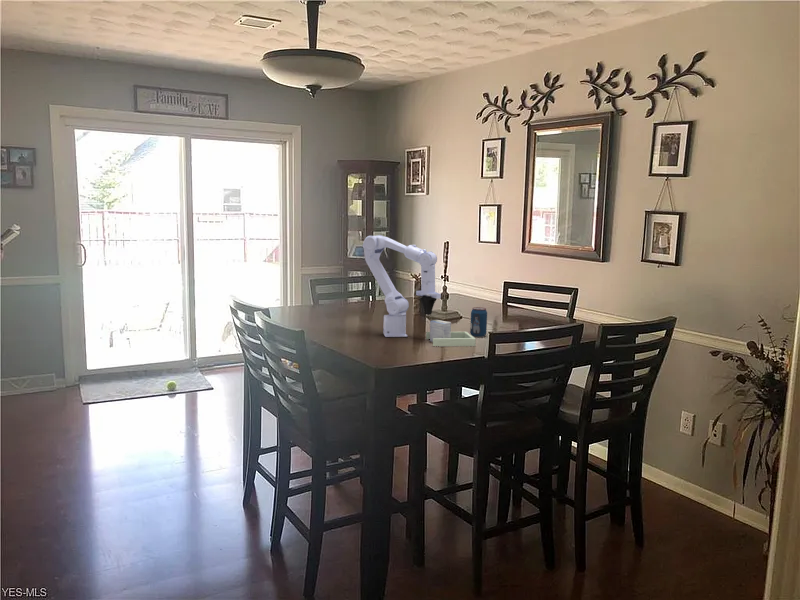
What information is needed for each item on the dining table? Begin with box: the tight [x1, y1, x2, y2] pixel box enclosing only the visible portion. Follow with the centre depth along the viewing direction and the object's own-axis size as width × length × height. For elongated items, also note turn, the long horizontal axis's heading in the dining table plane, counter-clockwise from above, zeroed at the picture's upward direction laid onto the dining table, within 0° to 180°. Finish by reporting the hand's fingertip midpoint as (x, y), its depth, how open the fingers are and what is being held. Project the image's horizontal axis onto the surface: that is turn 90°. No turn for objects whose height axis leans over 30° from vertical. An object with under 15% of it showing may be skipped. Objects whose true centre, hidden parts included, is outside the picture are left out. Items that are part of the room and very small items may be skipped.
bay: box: [425, 331, 477, 348], centre depth 258 cm, size 17×14×3 cm
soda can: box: [469, 306, 488, 338], centre depth 272 cm, size 7×7×12 cm
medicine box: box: [429, 319, 452, 343], centre depth 257 cm, size 8×4×9 cm, turn 42°
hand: (428, 314), depth 262 cm, fingers closed
